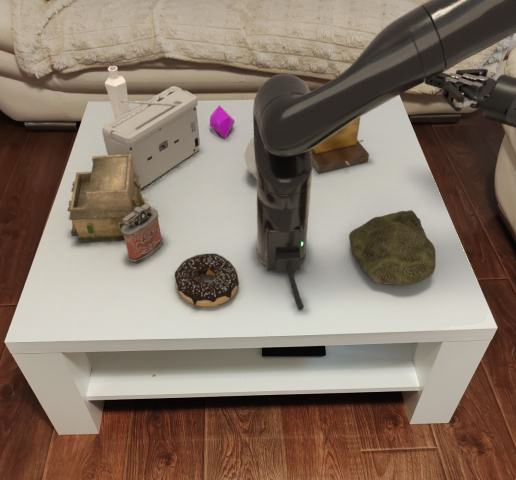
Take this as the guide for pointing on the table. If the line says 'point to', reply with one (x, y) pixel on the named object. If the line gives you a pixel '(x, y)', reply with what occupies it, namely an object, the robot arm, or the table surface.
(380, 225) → the decorative rock
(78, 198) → the miniature house
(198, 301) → the donut
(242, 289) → the table surface
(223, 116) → the crystal
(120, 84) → the perfume bottle
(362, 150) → the panel
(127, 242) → the lighter
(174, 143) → the radio
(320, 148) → the tan wooden flat block
